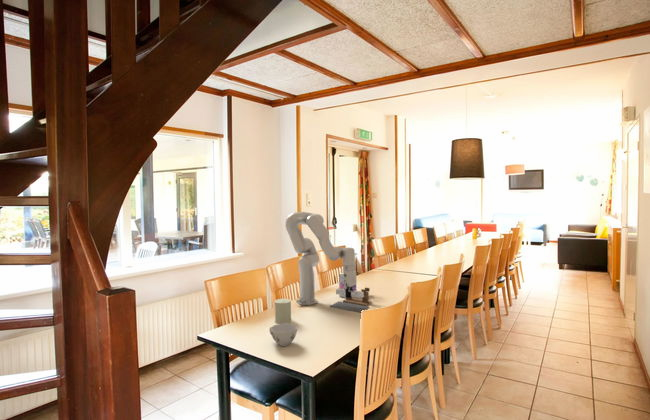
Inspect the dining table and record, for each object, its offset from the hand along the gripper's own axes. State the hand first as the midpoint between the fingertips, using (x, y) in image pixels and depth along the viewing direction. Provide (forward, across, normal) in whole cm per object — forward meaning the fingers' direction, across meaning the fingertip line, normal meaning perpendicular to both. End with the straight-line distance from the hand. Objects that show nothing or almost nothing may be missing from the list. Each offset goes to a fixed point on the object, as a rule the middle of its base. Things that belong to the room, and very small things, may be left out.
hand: (349, 296), depth 225 cm
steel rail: (-1, 0, 0) cm, 1 cm away
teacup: (+7, -64, +2) cm, 64 cm away
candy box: (+7, +23, +14) cm, 28 cm away
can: (+7, -40, +21) cm, 46 cm away
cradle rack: (+7, +11, 0) cm, 13 cm away
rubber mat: (+7, 0, 0) cm, 7 cm away
